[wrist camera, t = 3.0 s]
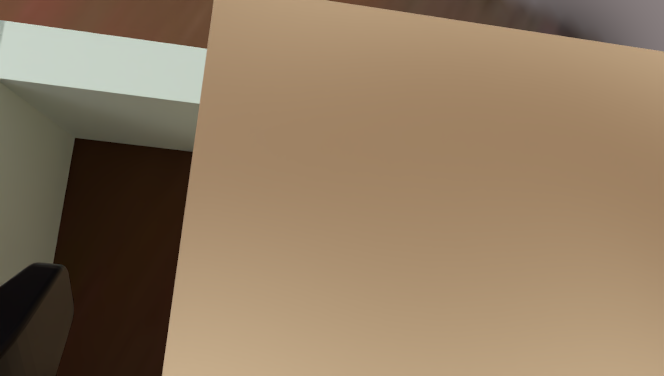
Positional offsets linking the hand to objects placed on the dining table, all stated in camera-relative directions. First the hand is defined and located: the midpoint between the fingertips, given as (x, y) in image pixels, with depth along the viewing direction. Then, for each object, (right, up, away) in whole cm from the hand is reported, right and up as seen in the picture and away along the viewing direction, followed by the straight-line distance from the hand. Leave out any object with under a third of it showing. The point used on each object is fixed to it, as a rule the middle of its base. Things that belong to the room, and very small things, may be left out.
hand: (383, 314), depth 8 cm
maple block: (-1, -1, +8) cm, 8 cm away
